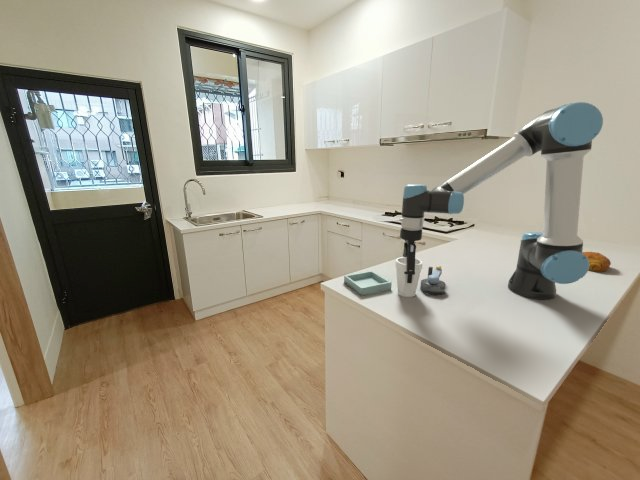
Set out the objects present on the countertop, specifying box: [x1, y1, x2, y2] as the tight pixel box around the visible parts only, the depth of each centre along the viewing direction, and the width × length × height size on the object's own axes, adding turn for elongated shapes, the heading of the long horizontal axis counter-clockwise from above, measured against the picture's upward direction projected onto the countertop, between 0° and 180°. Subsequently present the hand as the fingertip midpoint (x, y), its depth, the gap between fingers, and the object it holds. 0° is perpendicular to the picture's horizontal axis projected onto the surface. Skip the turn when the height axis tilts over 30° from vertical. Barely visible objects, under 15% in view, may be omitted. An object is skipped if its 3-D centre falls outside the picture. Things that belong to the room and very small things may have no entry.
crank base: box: [420, 266, 446, 296], centre depth 115 cm, size 12×10×6 cm
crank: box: [427, 265, 443, 284], centre depth 117 cm, size 13×4×3 cm, turn 149°
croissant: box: [582, 251, 612, 273], centre depth 139 cm, size 14×16×8 cm
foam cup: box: [395, 256, 423, 298], centre depth 111 cm, size 10×9×13 cm
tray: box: [343, 270, 392, 297], centre depth 119 cm, size 14×14×3 cm
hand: (406, 283), depth 111 cm, fingers open, 13 cm apart
